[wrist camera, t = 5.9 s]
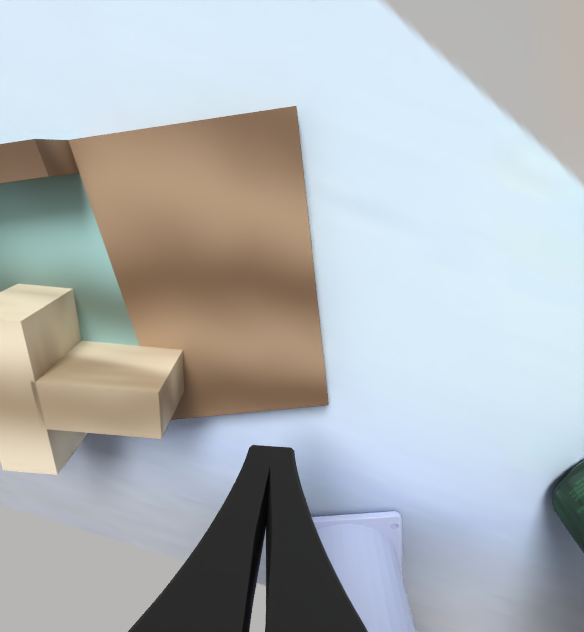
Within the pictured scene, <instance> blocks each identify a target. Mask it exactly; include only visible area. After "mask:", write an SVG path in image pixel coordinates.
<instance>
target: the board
mask: <svg viewBox="0 0 584 632" xmlns="http://www.w3.org/2000/svg"><path fill="white" fill-rule="evenodd" d="M16 284H28V285H39V286H50V287H60V288H71V289H73V293H74V299H75V305H76V310H77V316H78V322H79V328H80V334H81V340H82V341H91V342H102V343H113V344H124V345H135V346H146V347H157V348H168V349H179V350H183V369H184V392H183V395H182V397H181V399H180V401H179V403H178V405H177V407H176V409H175V412H174V414H173V416H172V418H171V420H173V419H184V418H194V417H205V416H216V415H227V414H237V413H248V412H259V411H270V410H280V409H291V408H302V407H312V406H323V405H329V404H328V394H327V385H326V376H325V367H324V357H323V348H322V339H321V330H320V320H319V311H318V302H317V293H316V283H315V274H314V265H313V256H312V246H311V237H310V228H309V219H308V209H307V200H306V191H305V182H304V172H303V163H302V154H301V145H300V135H299V126H298V117H297V108H296V106H293V107H286V108H279V109H273V110H266V111H259V112H253V113H246V114H239V115H233V116H226V117H219V118H213V119H206V120H199V121H193V122H186V123H179V124H173V125H166V126H159V127H153V128H146V129H140V130H133V131H126V132H120V133H113V134H106V135H100V136H93V137H86V138H80V139H73V140H46V139H32V140H25V141H19V142H12V143H5V144H0V292H2V291H4V290H6V289H8V288H10V287H12V286H14V285H16Z"/></svg>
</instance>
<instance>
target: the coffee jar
mask: <svg viewBox="0 0 584 632" xmlns="http://www.w3.org/2000/svg"><path fill="white" fill-rule="evenodd" d="M552 503H553V507H554V510H555V512H556V513H557V515H558V516H559V518H560V519H561V521H562V522H563V524H564V525H565V527H566V528H567V529H568V531H569V532H570V534H571V535H572V537H573V538H574V540H575V541H576V542H577V544H578V545H579V547H580V548H581V550H582V551H583V552H584V460H583V461H582V462H581V463H579V464H578V465H577V466H575V467H574V468H573V469H572V470H571V471H570V472H569V473H568V474H567V476H566V477H565V478H564V479H563V480H562V481H561V482H560V483H559V484H558V485H557V487H556V489H555V490H554V492H553V495H552Z"/></svg>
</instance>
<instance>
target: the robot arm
mask: <svg viewBox="0 0 584 632" xmlns="http://www.w3.org/2000/svg"><path fill="white" fill-rule="evenodd" d="M265 530H266V627H265V632H416V631H415V627H414V623H413V619H412V615H411V611H410V606H409V602H408V598H407V594H406V590H405V586H404V582H403V578H402V518H401V515H400V513H399V512H396V511H388V512H374V513H360V514H347V515H333V516H319V517H311V514H310V511H309V508H308V505H307V502H306V499H305V497H304V493H303V490H302V487H301V483H300V479H299V476H298V471H297V467H296V462H295V454H294V450H293V449H292V448H287V447H272V446H258V445H253V446H251V447H250V448H249V450H248V454H247V457H246V459H245V462H244V464H243V467H242V469H241V471H240V473H239V475H238V477H237V479H236V482H235V483H234V485H233V487H232V489H231V491H230V493H229V495H228V497H227V498H226V500H225V502H224V504H223V506H222V507H221V509H220V511H219V512H218V514H217V516H216V517H215V519H214V520H213V522H212V524H211V525H210V527H209V529H208V530H207V532H206V533H205V535H204V536H203V538H202V539H201V541H200V542H199V544H198V545H197V547H196V548H195V549H194V551H193V552H192V554H191V555H190V556H189V558H188V559H187V561H186V562H185V563H184V565H183V566H182V567H181V569H180V570H179V571H178V573H177V574H176V575H175V576H174V578H173V579H172V580H171V582H170V583H169V584H168V585H167V587H166V588H165V589H164V590H163V592H162V593H161V594H160V595H159V596H158V598H157V599H156V600H155V602H154V603H153V604H152V605H151V606H150V607H149V608H148V610H146V612H145V613H144V614H143V615H142V616H141V617H140V618H139V620H138V621H137V622H136V623H135V624H134V625H133V627H132V628H131V629H130V630H129V631H128V632H249V628H250V620H251V613H252V606H253V600H254V594H255V588H256V582H257V576H258V571H259V565H260V559H261V553H262V547H263V541H264V536H265Z"/></svg>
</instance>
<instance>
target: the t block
mask: <svg viewBox="0 0 584 632" xmlns="http://www.w3.org/2000/svg"><path fill="white" fill-rule="evenodd" d="M183 392H184V369H183V350H179V349H168V348H157V347H146V346H135V345H124V344H113V343H102V342H91V341H82V340H81V334H80V328H79V322H78V316H77V310H76V305H75V299H74V293H73V289H71V288H60V287H50V286H39V285H28V284H16V285H14V286H12V287H10V288H8V289H6V290H4V291H2V292H0V462H1V465H2V468H3V470H6V471H19V472H31V473H43V474H55V475H58V473H59V472H60V471H61V469H62V468H63V466H64V465H65V464H66V462H67V461H68V460H69V458H70V457H71V456H72V454H73V453H74V452H75V450H76V449H77V448H78V446H79V445H80V443H81V442H82V441H83V439H84V438H85V437H86V435H87V434H88V433H96V434H108V435H120V436H132V437H144V438H155V439H162V437H163V435H164V433H165V431H166V429H167V426H168V424H169V422H170V420H171V418H172V416H173V414H174V412H175V409H176V407H177V405H178V403H179V401H180V399H181V397H182V395H183Z"/></svg>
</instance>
